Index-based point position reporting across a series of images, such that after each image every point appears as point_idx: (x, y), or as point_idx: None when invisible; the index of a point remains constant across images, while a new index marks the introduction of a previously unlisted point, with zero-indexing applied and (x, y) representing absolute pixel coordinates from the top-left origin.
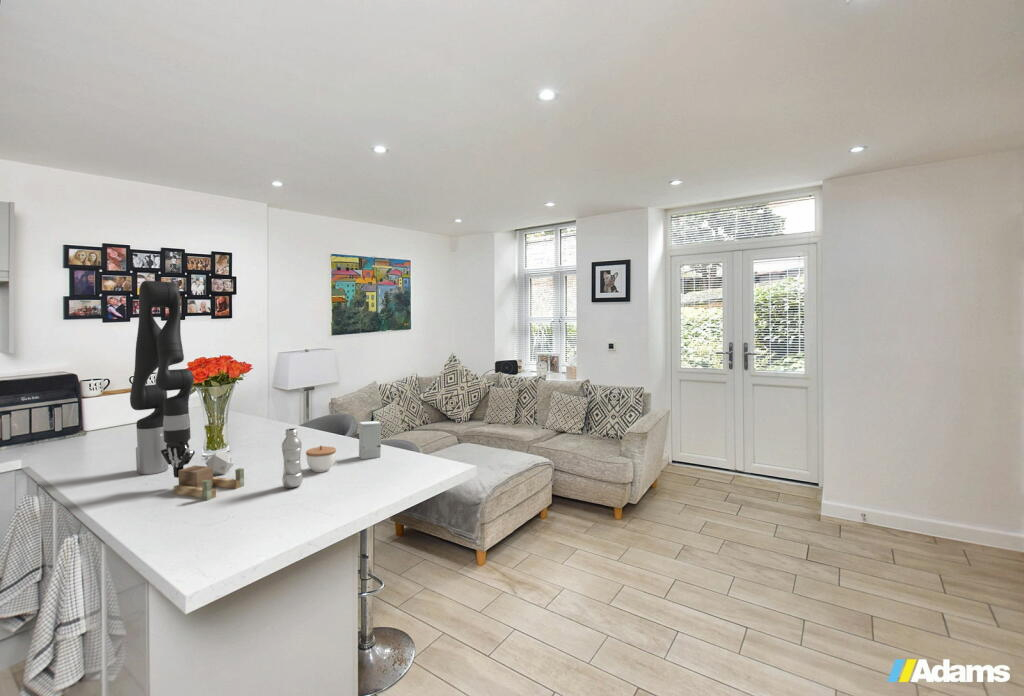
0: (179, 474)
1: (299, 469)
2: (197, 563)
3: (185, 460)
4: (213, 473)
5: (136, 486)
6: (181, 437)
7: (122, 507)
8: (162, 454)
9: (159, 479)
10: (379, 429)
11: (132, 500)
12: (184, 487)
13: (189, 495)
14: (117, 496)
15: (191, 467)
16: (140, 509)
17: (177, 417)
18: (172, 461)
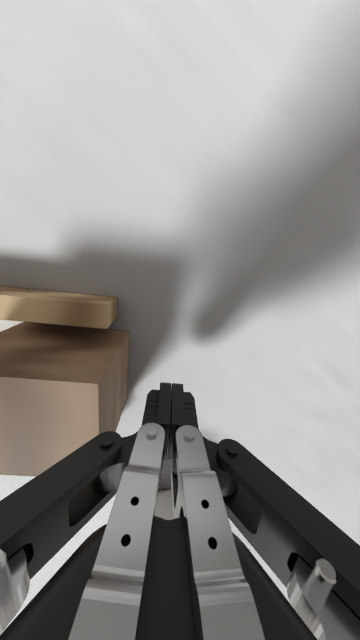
0: (99, 368)
1: None
2: None
3: (42, 480)
4: (160, 492)
5: (356, 344)
6: None
7: (193, 76)
8: (347, 536)
9: (324, 421)
10: None
11: (230, 185)
12: (33, 300)
13: (23, 288)
14: (347, 222)
15: (74, 446)
16: (68, 64)
17: None
18: (195, 462)
